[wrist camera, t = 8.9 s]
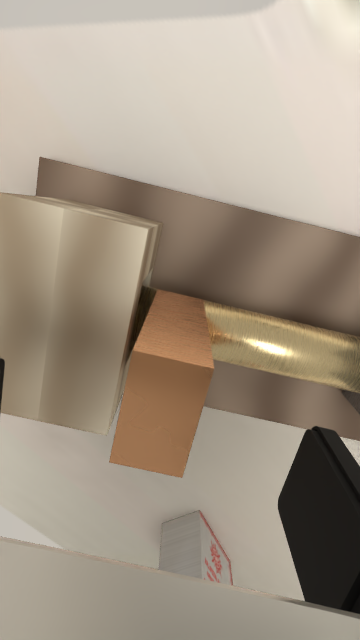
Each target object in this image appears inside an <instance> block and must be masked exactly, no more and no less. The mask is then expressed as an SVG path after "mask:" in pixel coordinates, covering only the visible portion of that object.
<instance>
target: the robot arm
mask: <svg viewBox="0 0 360 640" xmlns="http://www.w3.org/2000/svg"><path fill="white" fill-rule="evenodd" d="M4 369H5V361H4V359H2V358H0V412H1V401H2V391H3V380H4ZM278 510H279V514H280V518H281V521H282V524H283V528H284V531H285V534H286V538H287V541H288V545H289V548H290V551H291V555H292V558H293V562H294V565H295V568H296V572H297V575H298V578H299V582H300V585H301V589H302V592H303V595H304V599H305V601H300V600H296V599H291V598H287V597H282V596H277V595H273V594H268V593H264V592H259V591H255V590H250V589H246V588H241V587H236V586H232V585H227V584H223V583H218V582H214V581H209V580H205V579H200V578H195V577H191V576H186V575H181V574H177V573H172V572H167V571H163V570H158V569H153V568H149V567H144V566H139V565H135V564H130V563H125V562H121V561H116V560H111V559H106V558H102V557H97V556H92V555H87V554H83V553H78V552H73V551H69V550H64V549H59V548H54V547H49V546H44V545H40V544H35V543H29V542H24V541H20V540H15V539H11V538H6V537H0V640H360V466H359V465H358V463H357V462H356V460H355V459H354V458H353V456H352V455H351V453H350V452H349V450H348V449H347V447H346V446H345V444H344V443H343V441H342V440H341V438H340V437H339V435H338V434H337V432H336V431H335V430H331V429H327V428H323V427H318V426H314V427H313V428H312V429H311V430H310V429H308V430H307V431H306V432H305V434H304V436H303V439H302V441H301V444H300V446H299V449H298V451H297V454H296V456H295V459H294V461H293V464H292V466H291V469H290V471H289V474H288V476H287V479H286V481H285V483H284V486H283V488H282V491H281V493H280V496H279V499H278Z"/></svg>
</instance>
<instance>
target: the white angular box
mask: <svg viewBox="0 0 360 640" xmlns="http://www.w3.org/2000/svg"><path fill="white" fill-rule="evenodd" d="M158 570H163V571H167V572H172V573H177V574H181V575H186V576H191V577H195V578H200V579H205V580H209V581H214V582H218V583H223V584H227V585H232V586H233V583H232V574H231V565H230V561H229V559H228V557H227V555H226V554H225V552H224V550H223V549H222V547H221V545H220V544H219V542H218V540H217V539H216V537H215V535H214V534H213V532H212V530H211V529H210V527H209V525H208V524H207V522H206V520H205V519H204V517H203V515H202V514H201V512H200V510H199V511H196V512H193V513H190V514H187V515H185V516H182V517H179V518H176V519H173V520H171V521H168V522H165V523H162V535H161V546H160V557H159V569H158Z"/></svg>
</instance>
